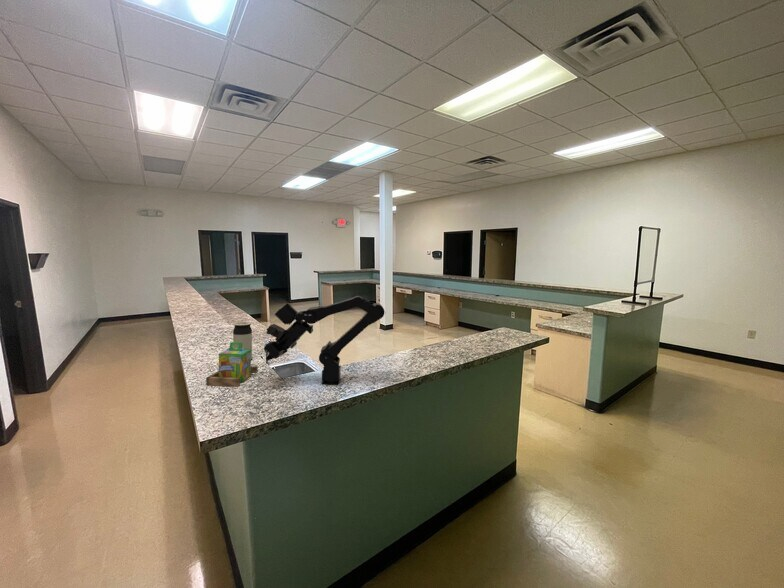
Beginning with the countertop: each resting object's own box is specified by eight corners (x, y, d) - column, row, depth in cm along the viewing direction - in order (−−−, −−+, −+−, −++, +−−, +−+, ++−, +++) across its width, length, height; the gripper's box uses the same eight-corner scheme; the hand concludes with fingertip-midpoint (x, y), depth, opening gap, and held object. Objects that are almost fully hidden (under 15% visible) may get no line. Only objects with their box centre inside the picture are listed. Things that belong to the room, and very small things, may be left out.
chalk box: (217, 383, 120) (217, 345, 119) (228, 375, 129) (227, 339, 128) (243, 383, 121) (242, 345, 120) (251, 375, 130) (251, 340, 129)
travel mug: (244, 363, 145) (244, 325, 144) (229, 362, 147) (229, 323, 145) (255, 358, 153) (255, 322, 151) (241, 357, 154) (240, 321, 153)
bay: (257, 373, 133) (257, 366, 133) (238, 387, 118) (238, 379, 117) (229, 371, 133) (229, 365, 133) (206, 385, 118) (206, 377, 118)
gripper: (289, 314, 132) (263, 339, 133) (269, 321, 113) (240, 350, 115) (307, 333, 132) (282, 358, 134) (290, 343, 113) (261, 372, 115)
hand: (267, 359), depth 124 cm, fingers closed
